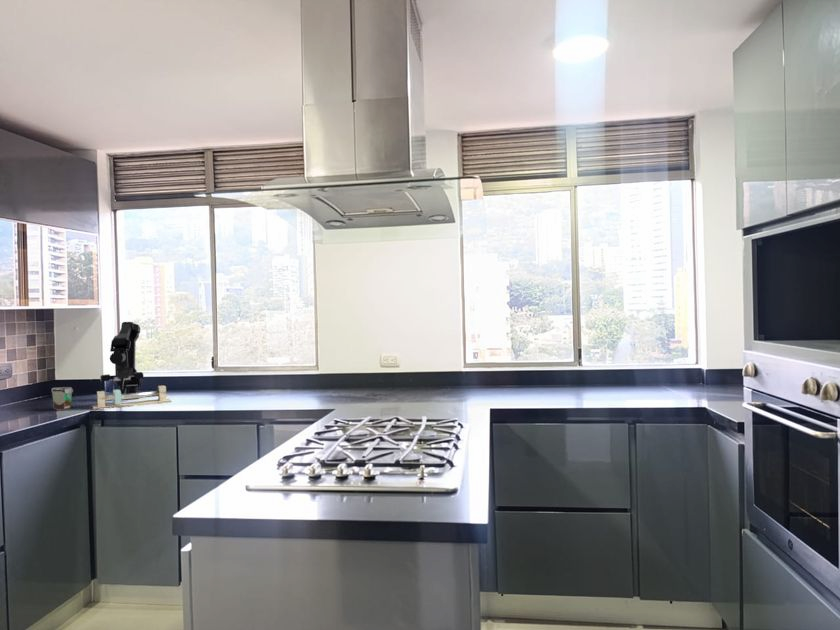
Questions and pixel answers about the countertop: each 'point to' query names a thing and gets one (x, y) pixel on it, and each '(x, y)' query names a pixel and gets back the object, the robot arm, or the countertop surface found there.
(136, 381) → the robot arm
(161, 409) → the countertop surface
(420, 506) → the countertop surface
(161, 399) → the beige cradle stand
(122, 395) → the pipe
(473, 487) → the countertop surface
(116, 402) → the collar
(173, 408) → the countertop surface
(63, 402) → the food container
